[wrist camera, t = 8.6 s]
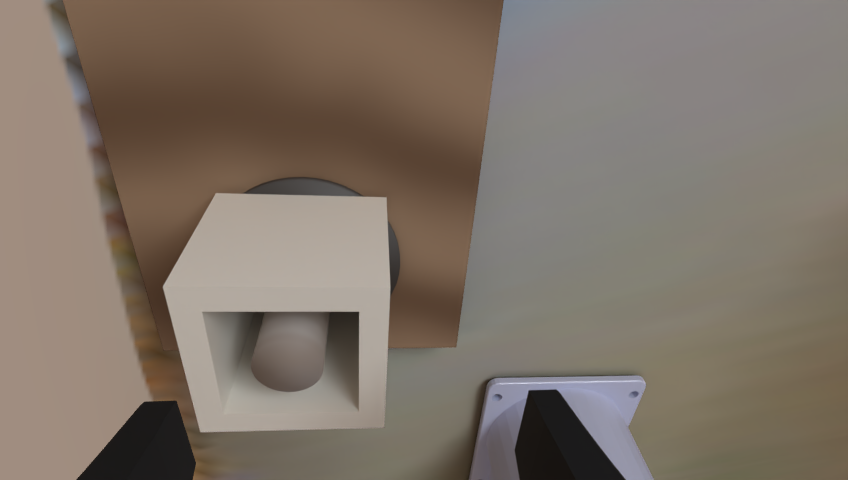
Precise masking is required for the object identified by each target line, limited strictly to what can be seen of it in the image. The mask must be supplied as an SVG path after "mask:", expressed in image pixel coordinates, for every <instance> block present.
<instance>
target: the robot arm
mask: <svg viewBox="0 0 848 480" xmlns="http://www.w3.org/2000/svg"><path fill="white" fill-rule="evenodd" d="M645 387H646V383H645V381H644V380H643V378H642V377H641V376H580V377H523V378H494V379H492V380H491V381H489V382H488V384H487V387H486V393H485V398H484V403H483V408H482V413H481V419H480V424H479V429H478V434H477V440H476V445H475V450H474V455H473V460H472V466H471V471H470V476H469V480H654V479H653V477H652V475H651V473H650V471H649V469H648V467H647V465H646V463H645V461H644V459H643V457H642V455H641V453H640V451H639V449H638V447H637V445H636V443H635V441H634V439H633V437H632V435H631V433H630V431H629V429H628V426H629V424H630V422H631V419H632V417H633V415H634V412H635V410H636V408H637V406H638V403H639V401H640V399H641V396H642V394H643V392H644V390H645ZM496 394H497V395H496ZM195 465H196V462H195V459H194V456H193V452H192V449H191V446H190V443H189V440H188V436H187V433H186V430H185V427H184V424H183V420H182V417H181V414H180V411H179V408H178V404H177V401H154V402H144V403H143V404H141V405H140V406H139V408H138V409H137V410H136V411H135V412H134V414H133V415H132V416H131V417H130V418H129V419H128V421H127V422H126V423H125V424H124V425H123V427H122V428H121V429H120V430H119V431H118V432H117V433H116V435H115V436H114V437H113V438H112V439H111V441H110V442H109V443H108V444H107V445H106V447H105V448H104V449H103V450H102V451H101V452H100V453H99V455H98V456H97V457H96V458H95V459H94V460H93V462H92V463H91V464H90V465H89V466H88V467H87V468H86V470H85V471H84V472H83V473H82V474H81V475H80V476H79V477H78V479H77V480H192V479H193V475H194V470H195Z"/></svg>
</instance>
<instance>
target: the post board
mask: <svg viewBox="0 0 848 480" xmlns="http://www.w3.org/2000/svg"><path fill="white" fill-rule="evenodd" d="M503 1H504V0H63V3H64V6H65V10H66V13H67V17H68V20H69V24H70V27H71V31H72V34H73V38H74V41H75V45H76V48H77V52H78V55H79V58H80V62H81V65H82V69H83V72H84V76H85V79H86V83H87V86H88V90H89V93H90V97H91V100H92V104H93V107H94V111H95V114H96V118H97V121H98V125H99V128H100V131H101V135H102V138H103V142H104V145H105V149H106V152H107V156H108V159H109V163H110V166H111V170H112V173H113V177H114V180H115V184H116V187H117V191H118V194H119V198H120V201H121V204H122V208H123V211H124V215H125V218H126V222H127V225H128V229H129V232H130V236H131V239H132V243H133V246H134V250H135V253H136V257H137V260H138V264H139V267H140V271H141V274H142V277H143V281H144V284H145V288H146V291H147V295H148V298H149V302H150V305H151V309H152V312H153V316H154V319H155V323H156V326H157V330H158V333H159V337H160V340H161V344H162V347H163V350H164V351H169V350H179V348H178V344H177V340H176V336H175V332H174V328H173V324H172V320H171V317H170V313H169V309H168V305H167V301H166V297H165V293H164V290H163V285H164V284H165V282H166V280H167V278H168V277H169V275H170V273H171V271H172V270H173V268H174V266H175V264H176V263H177V261H178V259H179V257H180V256H181V254H182V252H183V250H184V249H185V247H186V245H187V243H188V241H189V240H190V238H191V236H192V234H193V233H194V231H195V229H196V227H197V226H198V224H199V222H200V220H201V219H202V217H203V215H204V213H205V212H206V210H207V208H208V206H209V205H210V203H211V201H212V199H213V197H214V196H215V194H216V193H231V194H272V195H314V196H356V197H387V220H388V243H389V266H390V309H389V332H388V348H441V347H456V344H457V337H458V330H459V323H460V315H461V308H462V301H463V293H464V286H465V279H466V271H467V264H468V257H469V249H470V242H471V235H472V227H473V220H474V213H475V205H476V198H477V191H478V184H479V176H480V169H481V162H482V154H483V147H484V140H485V132H486V125H487V118H488V110H489V103H490V96H491V88H492V81H493V74H494V66H495V59H496V52H497V45H498V37H499V30H500V23H501V15H502V8H503ZM329 315H330V312H265V313H264V317H263V321H262V324H261V328H260V332H259V335H258V339H257V343H256V346H255V350H254V353H253V357H252V361H251V370H252V373H253V375H254V377H255V378H256V379H257V380H258V381H259V382H260V383H261V384H263V385H264V386H266V387H268V388H271V389H273V390H277V391H282V392H296V391H301V390H305V389H307V388H309V387H311V386H313V385H314V384H316V383H317V382H318V381H319V380H320V378H321V376H322V374H323V369H324V360H325V351H326V342H327V333H328V324H329Z"/></svg>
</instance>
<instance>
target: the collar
mask: <svg viewBox="0 0 848 480" xmlns="http://www.w3.org/2000/svg"><path fill="white" fill-rule="evenodd" d="M163 290H164V293H165V297H166V301H167V305H168V309H169V313H170V317H171V320H172V324H173V328H174V332H175V336H176V340H177V344H178V348H179V351H180V355H181V359H182V363H183V367H184V371H185V375H186V379H187V382H188V386H189V390H190V394H191V398H192V402H193V406H194V409H195V413H196V417H197V421H198V425H199V429H200V432H231V431H272V430H312V429H353V428H384V423H385V400H386V377H387V355H388V332H389V309H390V266H389V243H388V220H387V197H356V196H314V195H272V194H231V193H216V194H215V196H214V197H213V199H212V201H211V203H210V205H209V206H208V208H207V210H206V212H205V213H204V215H203V217H202V219H201V220H200V222H199V224H198V226H197V227H196V229H195V231H194V233H193V234H192V236H191V238H190V240H189V241H188V243H187V245H186V247H185V249H184V250H183V252H182V254H181V256H180V257H179V259H178V261H177V263H176V264H175V266H174V268H173V270H172V271H171V273H170V275H169V277H168V278H167V280H166V282H165V284H164V285H163ZM265 312H330V315H329V324H328V333H327V342H326V351H325V360H324V369H323V374H322V376H321V378H320V380H319V381H318V382H317V383H316V384H314V385H313V386H311V387H309V388H307V389H305V390H301V391H296V392H282V391H277V390H273V389H271V388H268V387H266V386H264V385H263V384H261V383H260V382H259V381H258V380H257V379H256V378H255V377H254V375H253V373H252V370H251V361H252V357H253V353H254V350H255V346H256V343H257V339H258V335H259V332H260V328H261V324H262V321H263V317H264V313H265Z"/></svg>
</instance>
